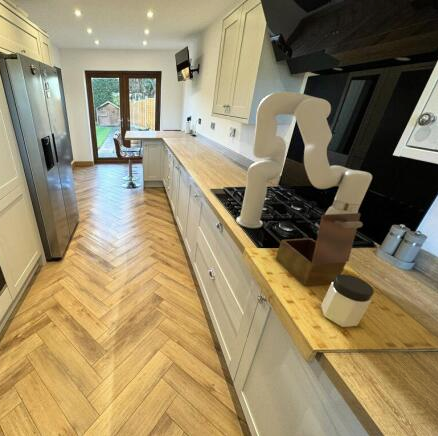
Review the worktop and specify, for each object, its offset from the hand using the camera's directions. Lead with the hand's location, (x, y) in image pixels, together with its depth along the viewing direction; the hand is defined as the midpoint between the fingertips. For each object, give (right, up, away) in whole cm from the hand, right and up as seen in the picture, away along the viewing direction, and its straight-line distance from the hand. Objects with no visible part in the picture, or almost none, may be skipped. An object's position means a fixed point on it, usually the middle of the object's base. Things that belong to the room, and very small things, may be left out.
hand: (328, 247), depth 93 cm
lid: (-12, +5, -18) cm, 23 cm away
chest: (-13, -8, -6) cm, 16 cm away
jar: (-16, -17, -24) cm, 34 cm away
